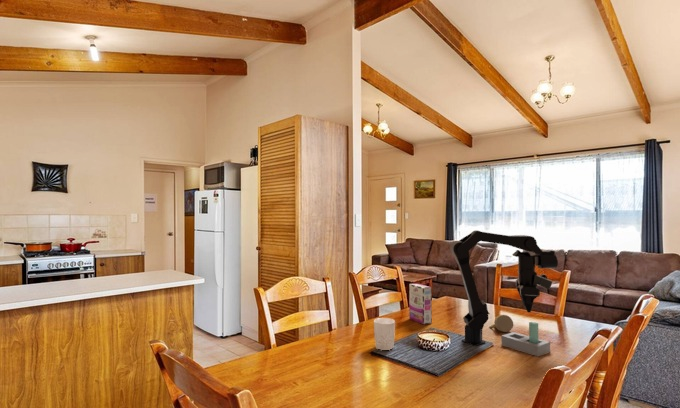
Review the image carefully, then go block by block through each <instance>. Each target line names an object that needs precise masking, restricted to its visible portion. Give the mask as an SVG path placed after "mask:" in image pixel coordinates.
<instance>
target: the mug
mask: <svg viewBox="0 0 680 408" xmlns="http://www.w3.org/2000/svg"><path fill="white" fill-rule="evenodd" d="M494 328H496V329H497V330H498V331H499V332H501V333H510V332H511V330H512V329H513V328H514V321H513V319H512V318H511V317H510V316H509V315H506V314H499V315H497V317H495V319H494V324H492V325H489V329H494Z"/></svg>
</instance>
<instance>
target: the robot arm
mask: <svg viewBox="0 0 680 408" xmlns="http://www.w3.org/2000/svg"><path fill="white" fill-rule="evenodd" d="M480 242H484V243H489V244H490V243H491V244H497V245H506V246H510V247H512V248H515V249H516V250H515V251H514V253H512V257H513V256H514V257H517V258H518V259H517V260H518V261H517V262H518V269H517V274H518V278H517V279H516V280H515V286H516V290H517V293H518V295H519V297H520V299H521V301H522V302H521V303H522V304H523V307H525V310H526V312H527V313H531V312H532V309H533V308H532V307H533V305H534V301H535V299H537V298H538V297H539V296H540V295H541V290H540V288H538V286H540V287H543V288H545V289H546V290H550V289H551V286H552V285H553V280H551V279H548V276H547V274H544V273H542V274H540V275H539V274H538V273H537V272H536V267H537V268H538V269H556V268H557V267H558V266H559V265H558V264H559V260H558V258H557V255H556V251H555V250H552V249H549V250H542V249H541V248H540V246H539V245H538V242H537V240H536V238H535V237H534V236H531V235H526V234H519V235H518V234H516V235H506V234H499V233H492V232H486V231H480V230H473V231H472V232H470V233H469V234H467V235H466V236H464V237H462V238H461V239H459V240H455V241H453V242H452V243H451V244H450V245H449V246H450V247H449V249H450V252H451V254H452V256H453V258H454V260H455V262H456V263H457V265H458V268H459V271H460V275H461V278H462V282H463V286H464V289H465V291H466V292H465V293H466V295H467V299H468V301H467V302H468V303H467V307H468V308H467V309H468V312H467V314H465V315H464V316H463V318H462V319H463V321H464V323H465V326H464V338H463V339H461V342H463V343H466V344H468V343H469V345H471V344H472V346H474V345H476V346H479V345H482V344H485V343H486V341H485V340H483V328H484V326H485V324H486V323H487V322H488V320H489V315H491V314H490V312H489V310H488V305H487V303H486V302H485V301H484V300H483V299H482V300H481V298H480V295H479V292H478V289H477V286H476V282H475V278H474V275H473V272H472V268H471V264H470V250H471V249H473V248H474V247H475V246H476V245H477V244H479V243H480ZM520 250H523V251H520ZM531 253H532V254H531Z"/></svg>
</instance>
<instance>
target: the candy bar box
mask: <svg viewBox="0 0 680 408" xmlns="http://www.w3.org/2000/svg"><path fill="white" fill-rule="evenodd" d="M408 287H409V289H408V290H409V291H408V292H409V293H408V295H409V296H408V298H409V304H408V306H409V307H408V309H409V310H408V311H409V313H408V314H409V315H408V317H409V319H410V320H412V321H414V322H417V323H418V324H419V323H420V324H422V325H429V324H433V323H432V321H433V319H432V318H433V316H432V315H433V311H432V309H433V307H432V303H433V302H432V298H433V296H432V295H433V294H432V293H433V292H432V286H427V285H425V284H420V283H409V286H408Z"/></svg>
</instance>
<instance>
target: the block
mask: <svg viewBox="0 0 680 408" xmlns="http://www.w3.org/2000/svg"><path fill="white" fill-rule="evenodd" d="M501 346H503V347H505V348H506V347H507V348H510V349H512V350H516V351H518V352H523V353H525V354H529V355H532V356H535V357H540V356H543V355H547V354H548V353H550V352H551V341H548V340H544V339H540V338H539V343H538V344H534V343H531V342H529V335H526V334H522V333H519V332H515V331H512V332H508V333H505V334H502V335H501Z"/></svg>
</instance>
